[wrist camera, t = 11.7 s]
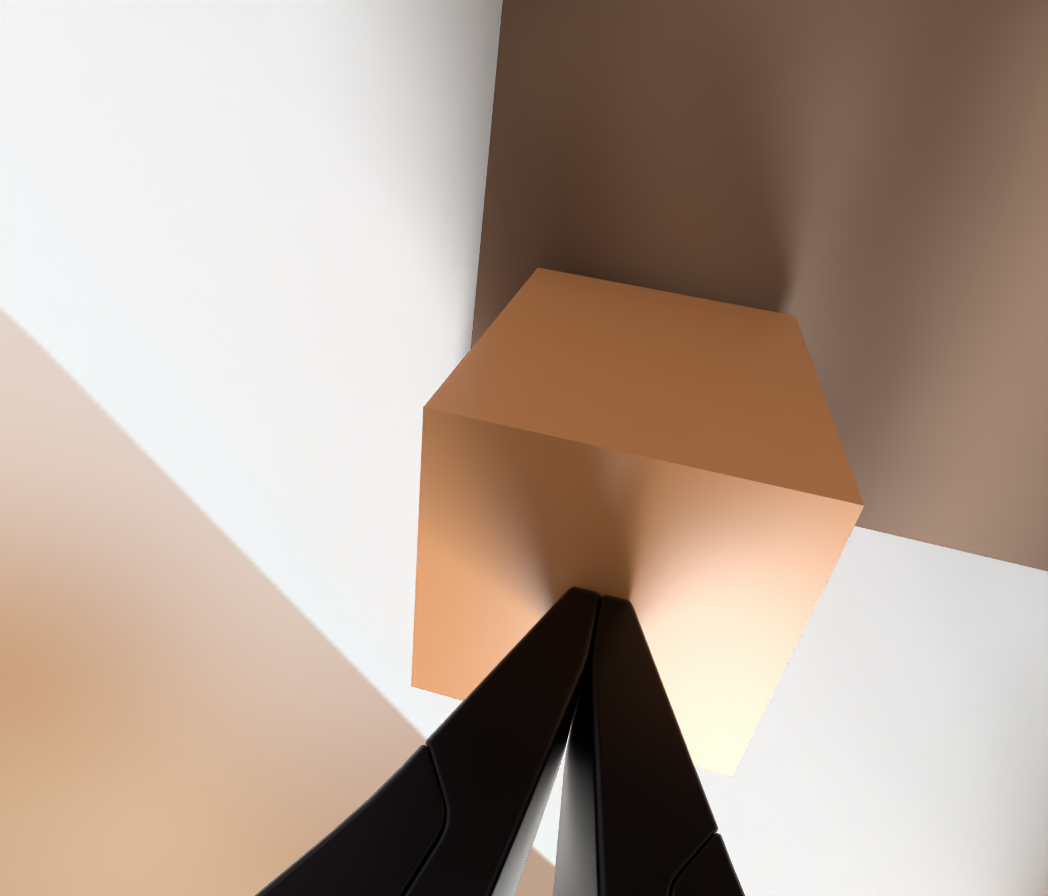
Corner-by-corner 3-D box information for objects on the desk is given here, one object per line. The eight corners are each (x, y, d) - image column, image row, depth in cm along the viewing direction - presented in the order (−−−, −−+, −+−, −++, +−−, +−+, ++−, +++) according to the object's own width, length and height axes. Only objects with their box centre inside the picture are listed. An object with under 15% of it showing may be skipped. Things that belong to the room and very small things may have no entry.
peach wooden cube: (795, 316, 13) (865, 505, 7) (722, 523, 16) (732, 777, 10) (537, 267, 14) (423, 407, 8) (511, 475, 16) (411, 686, 11)
